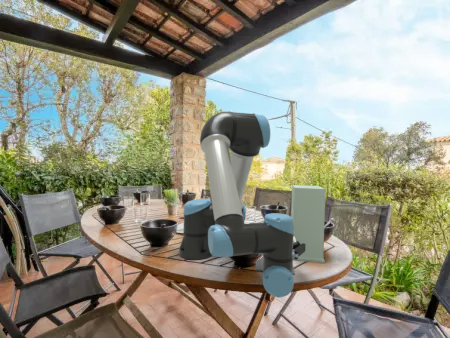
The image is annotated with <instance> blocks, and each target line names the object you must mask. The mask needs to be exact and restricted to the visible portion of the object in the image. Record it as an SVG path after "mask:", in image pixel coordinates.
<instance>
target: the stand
mask: <svg viewBox="0 0 450 338" xmlns="http://www.w3.org/2000/svg"><path fill="white" fill-rule="evenodd" d="M290 209H291V211H290V213H291V215H290V217H292V219H293V225H294V235H293V236H294V237H295V239H296V241H299V243H300V244H303V243H304V244H306V246H305V252H304V253H303V254H301V255H300V256H299V257H298V259H297V260H296V259H294V258H293V261H298V262H309V263H317V264H318V263H319V264H325V263H326V262H325V259H324V251H325V250H324V248H325V244H324V243H325V221H326V220H325V216H326V215H325V213H326V210H325V209H326V188H324V187H323V186H320V185H303V184H301V185H300V184H299V185H298V184H292V185H291V208H290Z"/></svg>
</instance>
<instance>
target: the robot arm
mask: <svg viewBox="0 0 450 338" xmlns="http://www.w3.org/2000/svg"><path fill="white" fill-rule="evenodd" d="M199 141H200V142H199V143H200V144H199V145H200V149H201V151H202V152H203V153H204V156H205V157H204V158H205V164H206V169H207V171H206V172H207V177H208V183H209V191H210V198H211V199H210V198H197V199H192V200H188V201H187V202H185V203H184V205H183V206H184V207H183V236H182V239H181V242H180V245H179V249H178V254H179V255H178V256H180V257H182V258H183V259H187V260H204V259H208V258H211V257H212V256H213V257H216V258H218V257H219V258H220V257H221V258H222V257H223V258H225V257H227V258H231V257H236V256H245V255H254V256H255V257H257V256H259V255H260V254H263V256H264V259H263V271H262V284H263V288H264V289H265V291H266V292H267V293H268V294H269V295H270V296H272V297H275V298H284V297H286V296H289V295H290V294H291V292H292V291H293V289H294V285H295V284H294V282H295V281H294V280H295V278H294V276H293V268H294V260H293V258H294V259H296V260H295V261H297V259H298V257H299V256H300V255H301V254H303V253H304V252H305V246H306V244H304V243H303V244H300V243H299V241H296V239H295V237H294V236H293V235H294V225H293V219H292V217H291V215H289V214H285V213H277V212H276V213H275V212H271V213H267V214H265V216H264V219H263V222H255V223H254V222H252V223H251V222H250V223H245V220H246V217H247V216H246V214H247V208H246V205H245V203H244V201H243V200H242V199H243V195H244V192H245V189H246V186H247V181H248V178H249V176H250V175H249V174H250V172H251V168H252V164H253V161H254V158H255V157H257V156H258V155H259V154H260V151H261V148H262V149H264V148H266V147H268V145H269V144H270V142H271V127H270V122H269V120H268V118H267V117H266V116H265V115H263V114H257V113H254V112H253V113H250V112H249V113H248V112H235V111H220V112H217V113H215V114H214V115H212V116H211V117H210V118H208V120H207V121H206V122H205V123H204V125H203V127H202V129H201V132H200V138H199ZM229 150H230V151H229ZM230 152H231V153H230Z"/></svg>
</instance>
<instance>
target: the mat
mask: <svg viewBox="0 0 450 338" xmlns="http://www.w3.org/2000/svg"><path fill="white" fill-rule="evenodd" d="M263 259H264V256H263V257H262V258H261V259H259V260H258V261H257V260H256V264H255V272H263ZM295 274H296V273H295V268H294V267H293V275H295Z"/></svg>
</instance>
